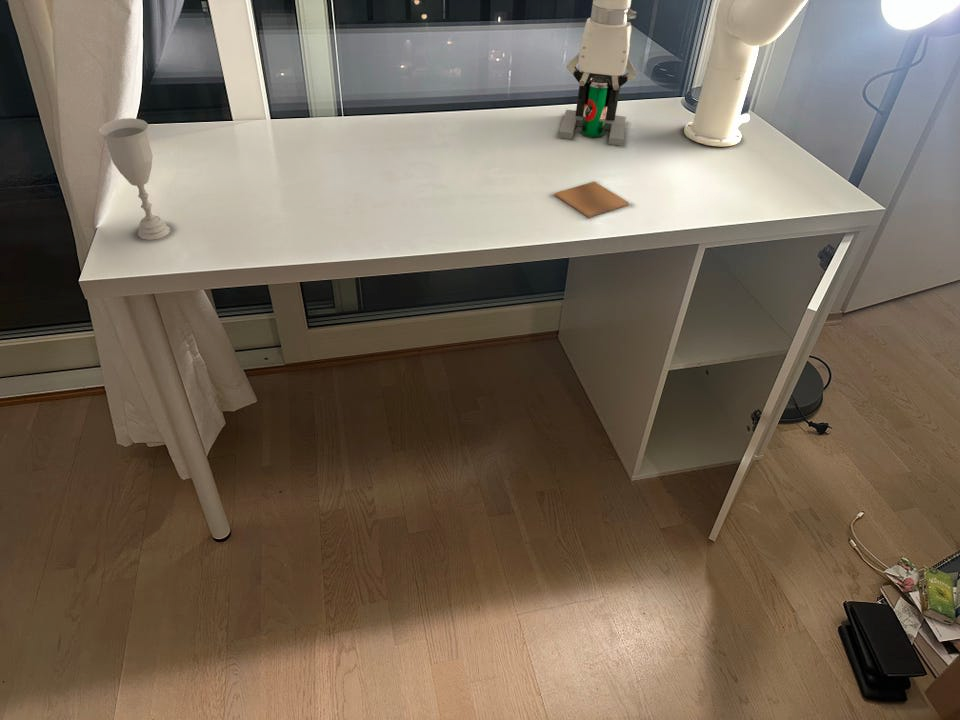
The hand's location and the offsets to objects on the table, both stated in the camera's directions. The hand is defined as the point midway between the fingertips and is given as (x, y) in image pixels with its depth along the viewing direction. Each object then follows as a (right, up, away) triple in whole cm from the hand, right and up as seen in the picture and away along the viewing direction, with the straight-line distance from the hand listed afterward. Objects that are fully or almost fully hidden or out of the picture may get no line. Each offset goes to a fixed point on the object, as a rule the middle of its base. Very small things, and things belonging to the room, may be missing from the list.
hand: (596, 103), depth 154 cm
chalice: (-80, -35, -35) cm, 94 cm away
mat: (-4, -26, -20) cm, 33 cm away
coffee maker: (0, -4, +6) cm, 7 cm away
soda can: (0, -5, +5) cm, 7 cm away
